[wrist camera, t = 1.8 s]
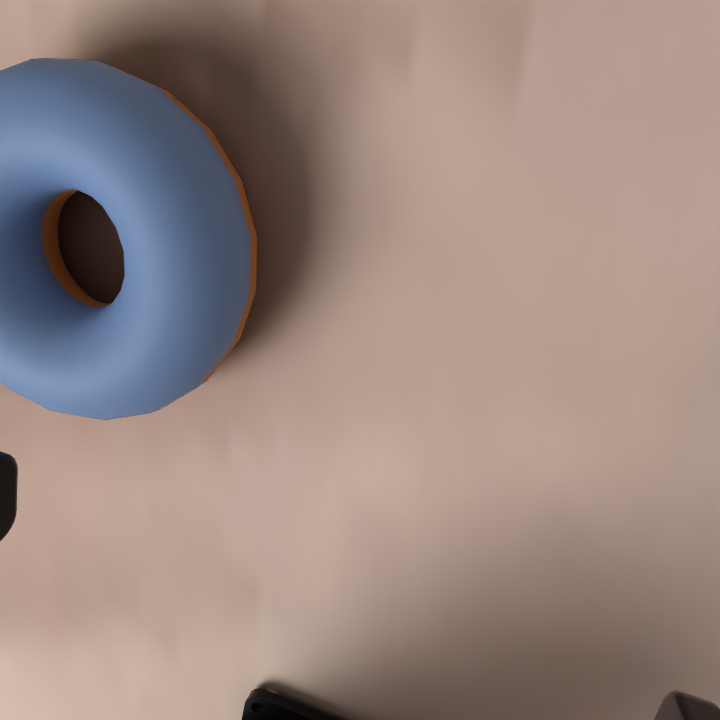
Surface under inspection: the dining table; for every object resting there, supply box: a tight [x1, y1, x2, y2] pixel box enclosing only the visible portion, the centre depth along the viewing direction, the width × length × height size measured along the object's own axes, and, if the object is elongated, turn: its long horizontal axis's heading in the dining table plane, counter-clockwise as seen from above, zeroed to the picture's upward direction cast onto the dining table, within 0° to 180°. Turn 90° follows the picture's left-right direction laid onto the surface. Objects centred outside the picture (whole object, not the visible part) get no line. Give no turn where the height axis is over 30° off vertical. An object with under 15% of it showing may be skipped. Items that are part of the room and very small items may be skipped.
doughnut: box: [0, 58, 257, 420], centre depth 19 cm, size 10×10×5 cm
